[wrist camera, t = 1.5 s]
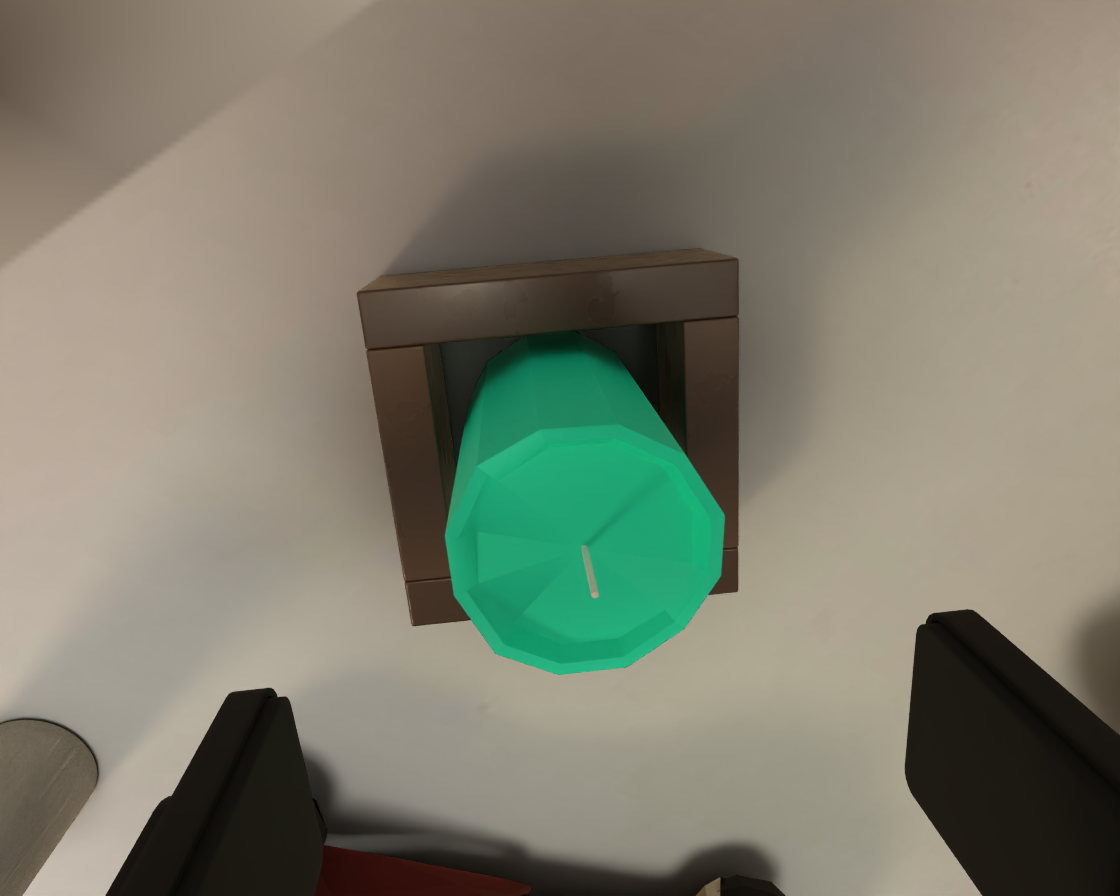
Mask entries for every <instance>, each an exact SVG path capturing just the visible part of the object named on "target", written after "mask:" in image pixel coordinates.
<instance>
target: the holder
mask: <svg viewBox="0 0 1120 896" xmlns="http://www.w3.org/2000/svg"><path fill="white" fill-rule="evenodd" d="M357 298H358V304H359V310H360V316H361V322H362V328H363V334H364V340H365V346H366V349H368V350H367V352H366V353H367V359H368V365H369V371H370V377H371V383H372V389H373V395H374V401H375V407H376V413H377V419H378V425H379V432H380V438H381V444H382V450H383V456H384V462H385V468H386V474H387V480H388V486H389V492H390V498H391V504H392V510H393V516H394V522H395V528H396V534H397V540H398V546H399V552H400V558H401V564H402V570H403V576H404V580H405V588H406V594H407V600H408V606H409V612H410V618H411V624H412V626H420V625H429V624H439V623H448V622H458V621H467V620H471V619H470V617H469V616H468V615H467V613H466V612H465V610H464V609H463V608H462V606H461V605H460V603H459V602H458V601H457V599H456V598H455V596H454V593H453V586H452V580H451V573H450V567H449V560H448V553H447V547H446V540H445V532H446V526H447V521H448V515H449V509H450V504H451V498H452V492H453V487H454V481H455V476H456V465H455V458H454V450H453V443H452V435H451V428H450V420H449V413H448V405H447V397H446V390H445V382H444V375H443V367H442V360H441V352H440V345H439V343H448V342H459V341H470V340H482V339H493V338H504V337H515V336H526V335H537V334H548V333H559V332H570V331H581V330H592V329H603V328H614V327H625V326H637V325H648V324H657V349H658V378H659V406H660V418H661V420H662V421H663V423H664V424H665V426H666V427H667V428H668V430H669V431H670V433H671V434H672V436H673V437H674V439H675V440H676V442H677V443H678V444H679V446H680V447H681V449H682V450H683V452H684V453H685V455H686V456H687V458H688V459H689V461H690V462H691V464H692V465H693V467H694V468H695V470H696V472H697V473H698V475H699V476H700V478H701V479H702V481H703V482H704V484H705V485H706V487H707V488H708V490H709V492H710V493H711V495H712V496H713V498H714V499H715V501H716V502H717V504H718V505H719V507H720V508H721V510H722V512H723V513H724V515H725V523H724V538H723V553H722V568H721V577H720V578H719V579H718V581H717V582H716V584H715V585H714V587H713V588H712V590H711V591H710V592H709V594H708V595H713V594H723V593H732V592H737V591H738V482H739V318H738V317H737V316H738V314H739V260H738V259H737V258H734V257H730V256H727V255H723V254H720V253H716V252H712V251H709V250H705V249H702V248H698V249H686V250H675V251H663V252H651V253H640V254H628V255H617V256H605V257H594V258H582V259H570V260H559V261H547V262H536V263H524V264H512V265H501V266H489V267H478V268H466V269H455V270H443V271H431V272H420V273H408V274H397V275H385V276H380V277H379V278H377V279H376V280H374V281H373V282H371V283H370V284H368V285H367V286H365V287H364V288H362V289H361V290H359V291H358V292H357Z"/></svg>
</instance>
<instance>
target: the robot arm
mask: <svg viewBox="0 0 1120 896" xmlns="http://www.w3.org/2000/svg"><path fill="white" fill-rule="evenodd" d="M905 776H906V780H907V784H908V787H909V789H910V791H911V793H912V795H913V796H914V798H915V799H916V801H917V802H918V804H919V805H920V807H921V808H922V809H923V811H924V812H925V814H926V815H927V817H928V818H929V820H930V821H931V822H932V824H933V825H934V827H935V828H936V830H937V831H938V832H939V834H940V835H941V837H942V838H943V840H944V841H945V843H946V844H947V845H948V847H949V848H950V850H951V851H952V853H953V854H954V856H955V857H956V858H957V860H958V861H959V863H960V864H961V866H962V867H963V868H964V870H965V871H966V873H967V874H968V876H969V877H970V879H971V880H972V881H973V883H974V884H975V886H976V887H977V889H978V890H979V891H980V893H981V894H982V896H1120V735H1119V734H1117V733H1116V732H1115V731H1114V730H1113V729H1112V728H1110V727H1109V726H1108V725H1107V724H1106V723H1105V722H1103V721H1102V720H1101V719H1100V718H1099V717H1098V716H1096V715H1095V714H1094V713H1093V712H1092V711H1091V710H1089V709H1088V708H1087V707H1086V706H1085V705H1084V704H1083V703H1081V702H1080V701H1079V700H1078V699H1077V698H1076V697H1074V696H1073V695H1072V694H1071V693H1070V692H1069V691H1067V690H1066V689H1065V688H1064V687H1063V686H1062V685H1060V684H1059V683H1058V682H1057V681H1056V680H1055V679H1053V678H1052V677H1051V676H1050V675H1049V674H1048V673H1047V672H1045V671H1044V670H1043V669H1042V668H1041V667H1040V666H1038V665H1037V664H1036V663H1035V662H1034V661H1033V660H1031V659H1030V658H1029V657H1028V656H1027V655H1026V654H1024V653H1023V652H1022V651H1021V650H1020V649H1019V648H1017V647H1016V646H1015V645H1014V644H1013V643H1012V642H1011V641H1009V640H1008V639H1007V638H1006V637H1005V636H1004V635H1002V634H1001V633H1000V632H999V631H998V630H997V629H995V628H994V627H993V626H992V625H991V624H990V623H988V622H987V621H986V620H985V619H984V618H983V617H981V616H980V615H979V614H978V613H976V612H975V611H973V610H968V609H967V610H958V611H949V612H940V613H933V614H931V615H929V617H928V618H927V620H926V624H922V625H920V626H919V627H918V629H917V633H916V643H915V654H914V666H913V678H912V689H911V701H910V713H909V724H908V736H907V748H906V759H905ZM322 860H323V843H322V837H321V833H320V828H319V824H318V820H317V815H316V811H315V807H314V802H313V798H312V794H311V790H310V785H309V781H308V777H307V772H306V768H305V764H304V759H303V755H302V751H301V746H300V742H299V738H298V734H297V729H296V725H295V721H294V716H293V712H292V708H291V704H290V701H289V699H288V698H287V697H277V694H276V692H275V691H274V689H272V688H264V689H255V690H246V691H237V692H232V693H229V695H228V696H227V697H226V699H225V701H224V702H223V704H222V706H221V708H220V710H219V711H218V713H217V715H216V717H215V719H214V720H213V722H212V724H211V726H210V728H209V729H208V731H207V733H206V735H205V737H204V738H203V740H202V742H201V744H200V746H199V748H198V749H197V751H196V753H195V755H194V757H193V758H192V760H191V762H190V764H189V766H188V767H187V769H186V771H185V773H184V775H183V776H182V778H181V780H180V782H179V784H178V786H177V787H176V789H175V791H174V793H173V795H172V796H168V797H167V798H165V799H164V800H162V801H161V802H160V803H159V804H158V806H157V807H156V809H155V810H154V811H153V813H152V815H151V817H150V818H149V820H148V822H147V824H146V825H145V827H144V829H143V831H142V832H141V834H140V836H139V838H138V840H137V841H136V843H135V845H134V847H133V848H132V850H131V852H130V854H129V855H128V857H127V859H126V861H125V862H124V864H123V866H122V868H121V869H120V871H119V873H118V875H117V876H116V878H115V880H114V882H113V883H112V885H111V887H110V889H109V890H108V892H107V894H106V896H314V894H315V890H316V886H317V883H318V879H319V875H320V871H321V867H322Z"/></svg>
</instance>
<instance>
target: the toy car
mask: <svg viewBox="0 0 1120 896" xmlns="http://www.w3.org/2000/svg"><path fill="white" fill-rule="evenodd" d="M313 802H314V804H315V805H314V807H315V811H316V815H317V820H318V824H319V828H320V833H321V837H322V843H323V860H322V867H321V871H320V875H319V879H318V883H317V886H316V890H315V894H314V896H527V894H528V892H530V891H531V886H530V885H526V884H522V883H519V882H515V881H511V880H507V879H503V878H498V877H492V876H487V875H482V874H477V873H472V872H466V871H461V870H456V869H451V868H445V867H440V866H435V865H430V864H424V863H419V862H414V861H409V860H404V859H398V858H393V857H388V856H383V855H377V854H371V853H366V852H360V851H354V850H348V849H343V848H337V847H331V846H325V845H324V844H325V840H326V837H327V833H328V831H327V828H326V826H325V823H324V819H323V817H322V814H321V812H320V809H319V806H318V804H317V801H316V800H315V799H314V798H313ZM696 896H785V895H784V894H783V893H782V892H781V891H780V890H779V889H778V888H777V887H776V886H775V885H774V884H773V883H772V882H770V881H765V880H760V879H755V878H750V877H745V876H740V875H735V876H732V877H729V878H723V877H720V878H718V879H716V880H714V881H712V882H711V883H709V884H707V885H705V886H704V887H703V888H702V889H701V890H700V892H699V893H698V894H697V895H696Z"/></svg>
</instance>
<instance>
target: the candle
mask: <svg viewBox="0 0 1120 896" xmlns="http://www.w3.org/2000/svg"><path fill="white" fill-rule="evenodd" d="M724 523H725V515H724V513H723V512H722V510H721V508H720V507H719V505H718V504H717V502H716V501H715V499H714V498H713V496H712V495H711V493H710V492H709V490H708V488H707V487H706V485H705V484H704V482H703V481H702V479H701V478H700V476H699V475H698V473H697V472H696V470H695V468H694V467H693V465H692V464H691V462H690V461H689V459H688V458H687V456H686V455H685V453H684V452H683V450H682V449H681V447H680V446H679V444H678V443H677V442H676V440H675V439H674V437H673V436H672V434H671V433H670V431H669V430H668V428H667V427H666V426H665V424H664V423H663V421H662V420H661V418H660V417H659V415H658V414H657V412H656V411H655V410H654V408H653V407H652V405H651V404H650V402H649V401H648V399H647V398H646V396H645V395H644V394H643V392H642V391H641V389H640V388H639V386H638V385H637V383H636V382H635V380H634V379H633V378H632V376H631V375H630V373H629V372H628V370H627V369H626V367H625V366H624V364H623V363H622V361H621V360H620V359H619V357H618V356H617V354H616V353H615V351H613V350H611V349H609V348H607V347H605V346H603V345H601V344H599V343H597V342H595V341H592V340H590V339H588V338H586V337H584V336H582V335H580V334H578V333H576V332H574V331H570V332H559V333H548V334H537V335H526V336H524V337H522V338H521V339H519V340H518V341H516V342H515V343H513V344H512V345H510V346H509V347H507V348H506V349H505V350H503V351H502V352H500V353H499V354H497V355H496V356H494V357H493V358H491V359H490V360H488V362H487V364H486V366H485V368H484V370H483V372H482V374H481V376H480V379H479V381H478V383H477V385H476V387H475V389H474V391H473V393H472V396H471V398H470V400H469V402H468V408H467V414H466V419H465V425H464V431H463V436H462V442H461V447H460V453H459V459H458V464H457V470H456V476H455V481H454V487H453V492H452V498H451V504H450V509H449V515H448V521H447V526H446V532H445V540H446V547H447V553H448V560H449V567H450V573H451V580H452V586H453V593H454V596H455V598H456V599H457V601H458V602H459V603H460V605H461V606H462V608H463V609H464V610H465V612H466V613H467V615H468V616H469V617H470V619H471V620H472V622H473V623H474V624H475V626H476V627H477V629H478V630H479V631H480V633H481V634H482V636H483V637H484V639H485V640H486V641H487V643H488V644H489V646H490V647H491V648H492V650H493V651H494V653H495V654H497V655H500V656H503V657H506V658H509V659H512V660H515V661H518V662H521V663H524V664H527V665H530V666H533V667H536V668H539V669H542V670H545V671H548V672H551V673H554V674H557V675H562V674H571V673H580V672H589V671H598V670H607V669H616V668H625V667H628V666H630V665H631V664H633V663H634V662H636V661H637V660H639V659H640V658H642V657H643V656H645V655H646V654H648V653H649V652H651V651H652V650H654V649H655V648H656V647H658V646H659V645H661V644H662V643H664V642H665V641H667V640H668V639H670V638H671V637H673V636H674V635H676V634H677V633H679V632H680V631H682V630H683V629H685V627H686V626H687V624H688V623H689V621H690V620H691V619H692V617H693V616H694V614H695V613H696V611H697V610H698V608H699V607H700V605H701V604H702V603H703V601H704V600H705V598H706V597H707V595H708V594H709V592H710V591H711V590H712V588H713V587H714V585H715V584H716V582H717V581H718V579H719V578H720V577H721V568H722V553H723V538H724Z"/></svg>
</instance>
